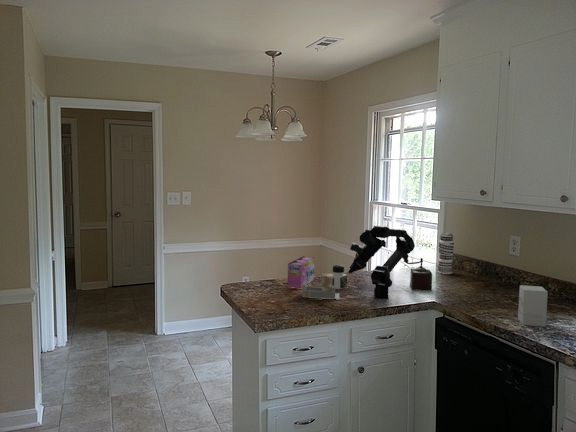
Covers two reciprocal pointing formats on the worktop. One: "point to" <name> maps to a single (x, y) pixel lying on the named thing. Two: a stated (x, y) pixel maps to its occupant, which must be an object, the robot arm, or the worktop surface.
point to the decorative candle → (445, 253)
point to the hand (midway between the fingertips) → (349, 270)
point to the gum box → (301, 272)
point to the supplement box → (532, 305)
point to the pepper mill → (419, 276)
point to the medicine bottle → (339, 277)
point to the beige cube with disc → (327, 282)
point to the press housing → (319, 292)
